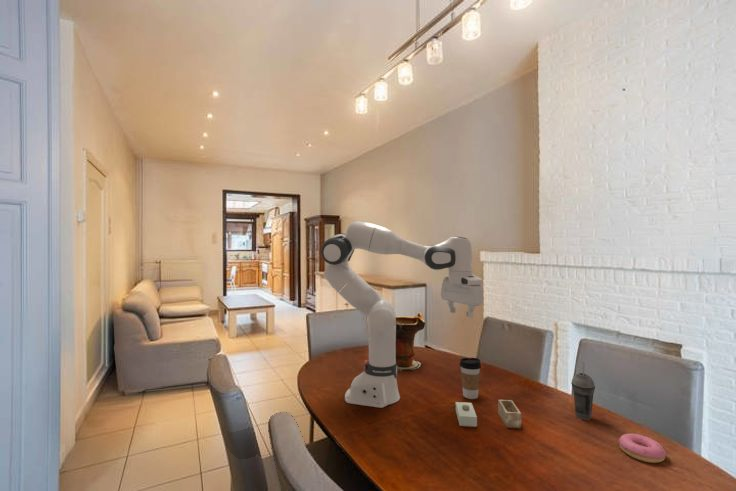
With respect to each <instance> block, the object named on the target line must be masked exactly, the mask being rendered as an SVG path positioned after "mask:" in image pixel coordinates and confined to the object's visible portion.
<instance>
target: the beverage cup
mask: <svg viewBox="0 0 736 491" xmlns="http://www.w3.org/2000/svg"><path fill="white" fill-rule="evenodd" d="M585 364H586V363H585V362H582V372H581V373H579V372H578V373H576V374H575V375H574V376H572V379H571V382H570V383H571V388H572V392H573V402H574V403H573V404H574V410H575V416H576V418H578V419H580V420H582V421H591V420H590V419H592V413H593V402H594V401H593V400H594V393H595V390H596V386H595V382H594V380H593V378H592V377H591V376H590V375H589V374H586V373H585Z"/></svg>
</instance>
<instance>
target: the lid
mask: <svg viewBox="0 0 736 491" xmlns="http://www.w3.org/2000/svg"><path fill="white" fill-rule="evenodd" d="M455 412H456V413H455V414H456V416H457V417H456V418H457V420H458V425H459V427H473V428H474V427H475V428H477V427H478V416H477V414H476V411H475V408H474V406H473V403H472V402H463V401H460V402H459V401H455Z"/></svg>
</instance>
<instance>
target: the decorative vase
mask: <svg viewBox="0 0 736 491" xmlns="http://www.w3.org/2000/svg"><path fill="white" fill-rule="evenodd" d="M425 326H426V321H425V320H424V317H423V314H422V313H421V312H418V313H417V314H416V316H408V315H407V316H402V315H400V316H398V315H396V363H397V371H402V370H406V371H409V370H416V369H420V367H421V364H422V363H421V362H419V361H417V360H415V359H414V357H415V354H416V353H415V348H414V346H415V337H416V334H418V332H420V331H422V330H424V328H425Z"/></svg>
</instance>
